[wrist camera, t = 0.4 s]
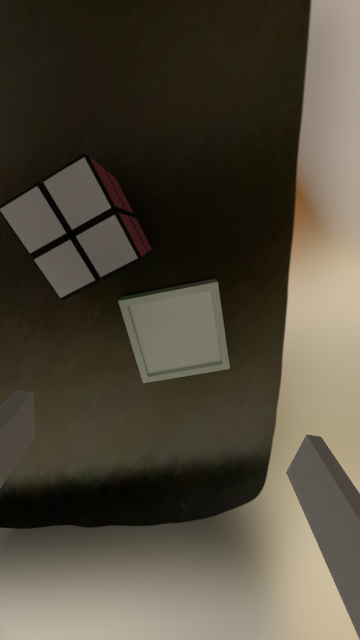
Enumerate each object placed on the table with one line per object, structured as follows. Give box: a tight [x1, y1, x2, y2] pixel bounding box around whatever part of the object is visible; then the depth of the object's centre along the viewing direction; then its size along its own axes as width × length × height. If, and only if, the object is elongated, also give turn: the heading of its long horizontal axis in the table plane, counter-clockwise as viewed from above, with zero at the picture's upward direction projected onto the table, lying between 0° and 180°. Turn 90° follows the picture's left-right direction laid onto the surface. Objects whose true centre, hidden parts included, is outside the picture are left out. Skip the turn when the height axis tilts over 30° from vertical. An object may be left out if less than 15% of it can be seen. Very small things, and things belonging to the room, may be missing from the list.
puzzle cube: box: [0, 154, 152, 300], centre depth 27 cm, size 10×10×10 cm
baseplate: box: [118, 279, 230, 383], centre depth 35 cm, size 14×14×2 cm
